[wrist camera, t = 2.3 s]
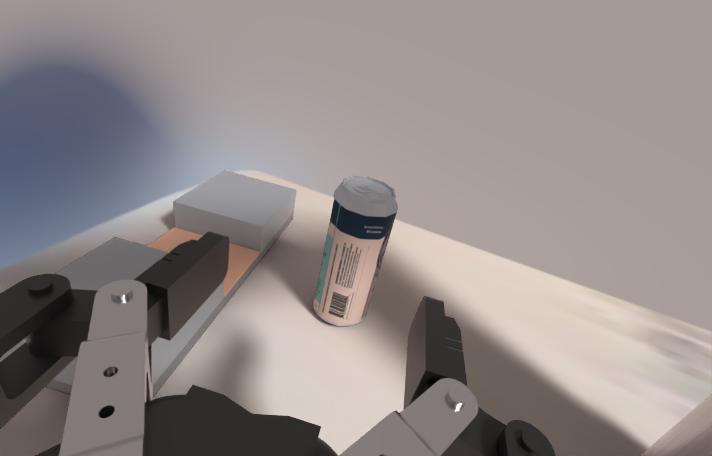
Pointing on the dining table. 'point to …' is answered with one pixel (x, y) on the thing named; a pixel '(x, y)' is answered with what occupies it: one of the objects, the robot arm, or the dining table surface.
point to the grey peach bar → (192, 220)
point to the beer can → (354, 249)
